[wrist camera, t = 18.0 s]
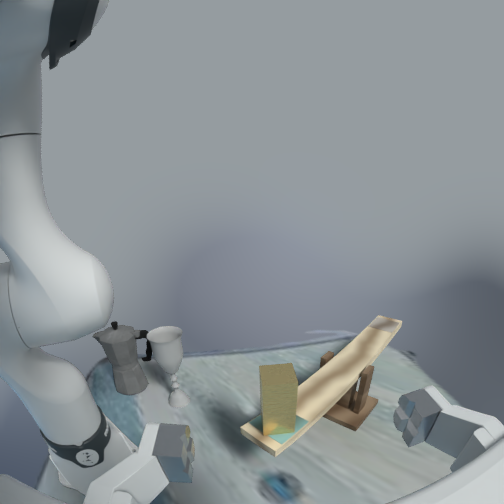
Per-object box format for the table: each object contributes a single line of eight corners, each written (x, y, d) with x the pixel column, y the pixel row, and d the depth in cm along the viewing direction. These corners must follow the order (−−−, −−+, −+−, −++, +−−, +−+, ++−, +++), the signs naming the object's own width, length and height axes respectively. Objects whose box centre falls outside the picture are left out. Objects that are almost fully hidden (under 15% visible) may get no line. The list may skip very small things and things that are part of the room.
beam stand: (300, 405, 53) (303, 362, 51) (326, 383, 60) (330, 341, 57) (355, 431, 43) (367, 387, 41) (377, 403, 50) (388, 360, 47)
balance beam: (241, 433, 36) (240, 426, 35) (377, 320, 68) (378, 314, 68) (275, 457, 31) (275, 450, 30) (401, 326, 63) (402, 320, 63)
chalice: (167, 413, 51) (149, 345, 47) (161, 395, 57) (144, 330, 53) (199, 405, 54) (186, 338, 50) (190, 388, 60) (178, 323, 56)
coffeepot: (104, 395, 54) (81, 331, 50) (112, 373, 63) (95, 314, 59) (163, 396, 57) (146, 330, 53) (166, 373, 66) (153, 311, 62)
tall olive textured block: (263, 435, 33) (262, 386, 31) (261, 415, 37) (259, 365, 35) (294, 432, 33) (298, 382, 31) (289, 412, 38) (292, 362, 35)
